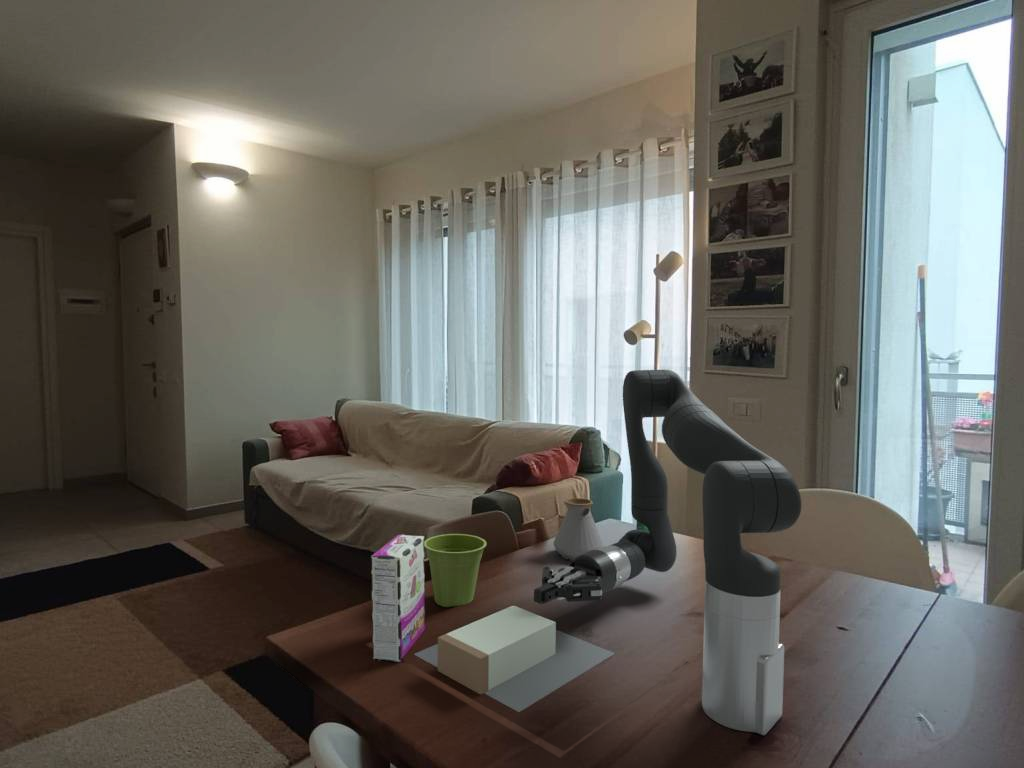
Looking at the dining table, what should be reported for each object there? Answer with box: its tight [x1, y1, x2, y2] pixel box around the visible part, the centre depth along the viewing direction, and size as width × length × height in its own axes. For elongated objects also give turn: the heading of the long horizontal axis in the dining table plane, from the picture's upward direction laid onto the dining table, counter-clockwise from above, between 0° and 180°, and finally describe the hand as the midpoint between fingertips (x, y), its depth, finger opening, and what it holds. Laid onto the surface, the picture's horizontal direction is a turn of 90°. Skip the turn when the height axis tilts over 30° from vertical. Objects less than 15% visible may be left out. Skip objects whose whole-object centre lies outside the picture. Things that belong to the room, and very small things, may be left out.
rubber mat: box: [413, 629, 616, 713], centre depth 96 cm, size 22×22×1 cm
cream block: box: [437, 605, 557, 696], centre depth 93 cm, size 9×5×16 cm
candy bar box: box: [370, 534, 426, 663], centre depth 99 cm, size 11×5×16 cm, turn 168°
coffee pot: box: [553, 497, 604, 561], centre depth 139 cm, size 21×12×15 cm, turn 0°
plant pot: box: [424, 533, 487, 608], centre depth 117 cm, size 12×12×11 cm
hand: (537, 597), depth 99 cm, fingers closed
